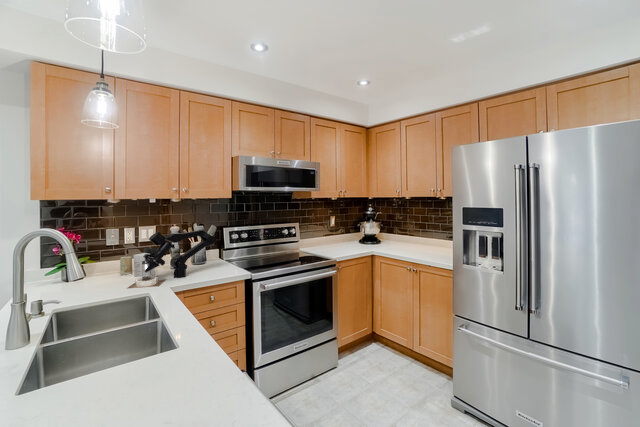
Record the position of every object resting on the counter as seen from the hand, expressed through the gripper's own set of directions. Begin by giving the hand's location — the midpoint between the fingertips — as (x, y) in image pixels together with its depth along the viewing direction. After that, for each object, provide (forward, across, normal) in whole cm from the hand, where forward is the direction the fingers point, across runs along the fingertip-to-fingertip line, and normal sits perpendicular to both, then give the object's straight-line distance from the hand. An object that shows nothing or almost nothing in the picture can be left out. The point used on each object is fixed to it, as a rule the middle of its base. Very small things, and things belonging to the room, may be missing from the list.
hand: (143, 271), depth 173 cm
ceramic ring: (+5, 0, +6) cm, 8 cm away
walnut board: (+5, 0, +7) cm, 9 cm away
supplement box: (0, -27, +13) cm, 30 cm away
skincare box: (+4, -42, +9) cm, 43 cm away
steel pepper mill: (+4, 0, +6) cm, 7 cm away
